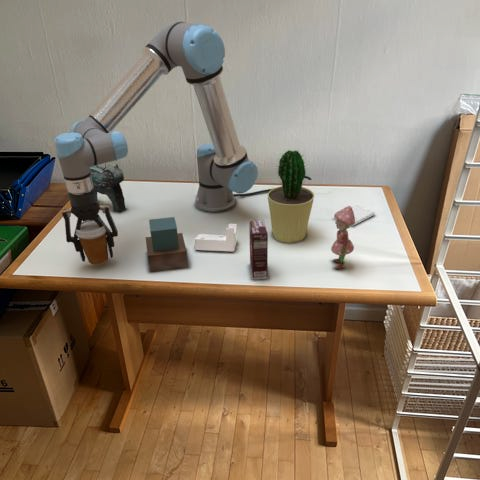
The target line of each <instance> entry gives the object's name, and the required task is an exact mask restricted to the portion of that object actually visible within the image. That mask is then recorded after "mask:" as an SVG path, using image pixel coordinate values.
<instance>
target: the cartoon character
mask: <svg viewBox="0 0 480 480" xmlns="http://www.w3.org/2000/svg"><path fill="white" fill-rule="evenodd" d="M352 207H353V206H351V205H348V206H346V207H344V208H342V209H340V210H338V211H337V212H335V213H334V215H333V216H334V219H335V218H336V219H337V220H336V219H335V220H336V221H335V222H334V224H335V225H336V229H337V232H336V240H335V241H334V242H333V244H332V245H331V248H330V250H331V252H332V254H334V255H337V256H338V258H334V259H333V258H332V262H335V263H339V264H338V265H336V266H334V269H335V270H339V269H343V268H344V267H345V257H346V255H350V254H351V253H352V252H353V251H354V250H355V246H354V244H353V241H352V240H351V239H349V232H348V230H349V229H350V228H351V227H352V226H351V225H354V224H355V217H354V212H353V209H352ZM354 226H355V225H354ZM347 229H348V230H347Z"/></svg>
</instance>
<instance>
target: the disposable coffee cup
mask: <svg viewBox="0 0 480 480" xmlns="http://www.w3.org/2000/svg"><path fill="white" fill-rule="evenodd" d="M105 224H106V223H105ZM105 224H104V226H105ZM104 226H102V227H101V228H100V227H99V225H98V224H97V223H96V222H95V221H94V220H87V221H82V223H81V227H80V230H77V229H76V228H75V229H76V233H75V232H74V233H75V234H76V235H77V236H78V240H80V243H81V245H82V247H83V251H84V254H85V258H86V259H87V262H88V263H89V264H90V265H93V266H99V265H103V264H105V263H107V262H108V261H109V249H108V244H107V236H106V234H105V233H106V230H105V228H104Z"/></svg>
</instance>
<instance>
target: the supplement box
mask: <svg viewBox="0 0 480 480" xmlns="http://www.w3.org/2000/svg"><path fill="white" fill-rule="evenodd" d="M248 227H249V228H248V229H249V230H248V232H249V267H250V272H251V276H252V280H255V281H256V280H266V279H267V280H268V265H269V263H268V262H269V261H268V253H269V252H268V249H269V247H268V245H269V236H268V235H269V232H268V231H267V227H266V222H265V219H253V220H252V219H251V220H248Z"/></svg>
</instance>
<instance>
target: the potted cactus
mask: <svg viewBox="0 0 480 480" xmlns="http://www.w3.org/2000/svg"><path fill="white" fill-rule="evenodd" d="M303 157H304V154H303V153H302V152H300V150H299V149H298V150H297V149H296V150H294V149H291V150H289V149H287V150H285V151H284V153H283V154H280V158H279V160H278V164H277V165H276V167H277V168H278V169H277V170H276V173H277V175H278V177H279V179H280V181H278V182H279V183H280V185H279V186H277V187H273V188H274V189H273V188H271V189H272V190H270V191H269V192H267V202H268V208H269V209H268V210H269V215H270V216H269V217H270V223H271V224H270V225H271V232H272V236H273V238H274V239H275V240H276V241H278V242H282V243H289V244H292V243H293V244H294V243H297V242H301V241H302V240H304V239H305V237H306V235H307V230H308V225H309V220H310V216H311V212H312V207H313V204H314V199H315V193H314V192H313V191H312V190H311V189H309V188H307V187H304V186H303V184H304V182H305V180H304V179H305V178H304V177H305V176H306V177H307V176H308V175H307V173H306V172H307V171H308V169H307V167H306V165H305V164H306V162H307V161H305V158H303ZM306 169H307V170H306Z"/></svg>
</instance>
